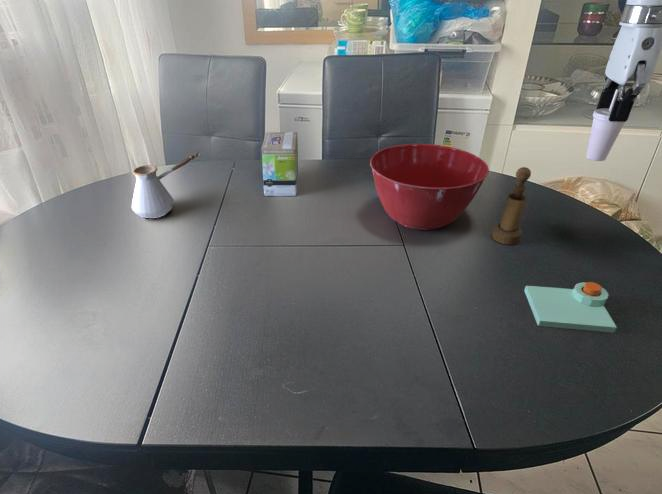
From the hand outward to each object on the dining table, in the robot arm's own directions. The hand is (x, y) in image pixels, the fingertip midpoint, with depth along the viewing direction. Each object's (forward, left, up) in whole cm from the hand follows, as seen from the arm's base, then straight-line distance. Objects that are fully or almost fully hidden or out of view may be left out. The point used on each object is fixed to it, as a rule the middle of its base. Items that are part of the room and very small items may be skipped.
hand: (610, 115), depth 92 cm
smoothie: (0, 0, -9) cm, 9 cm away
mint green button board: (+8, +29, -29) cm, 42 cm away
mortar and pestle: (+14, +2, -29) cm, 33 cm away
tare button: (+4, +26, -27) cm, 37 cm away
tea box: (+75, -22, -29) cm, 84 cm away
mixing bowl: (+34, -6, -29) cm, 46 cm away
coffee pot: (+103, -3, -29) cm, 107 cm away
